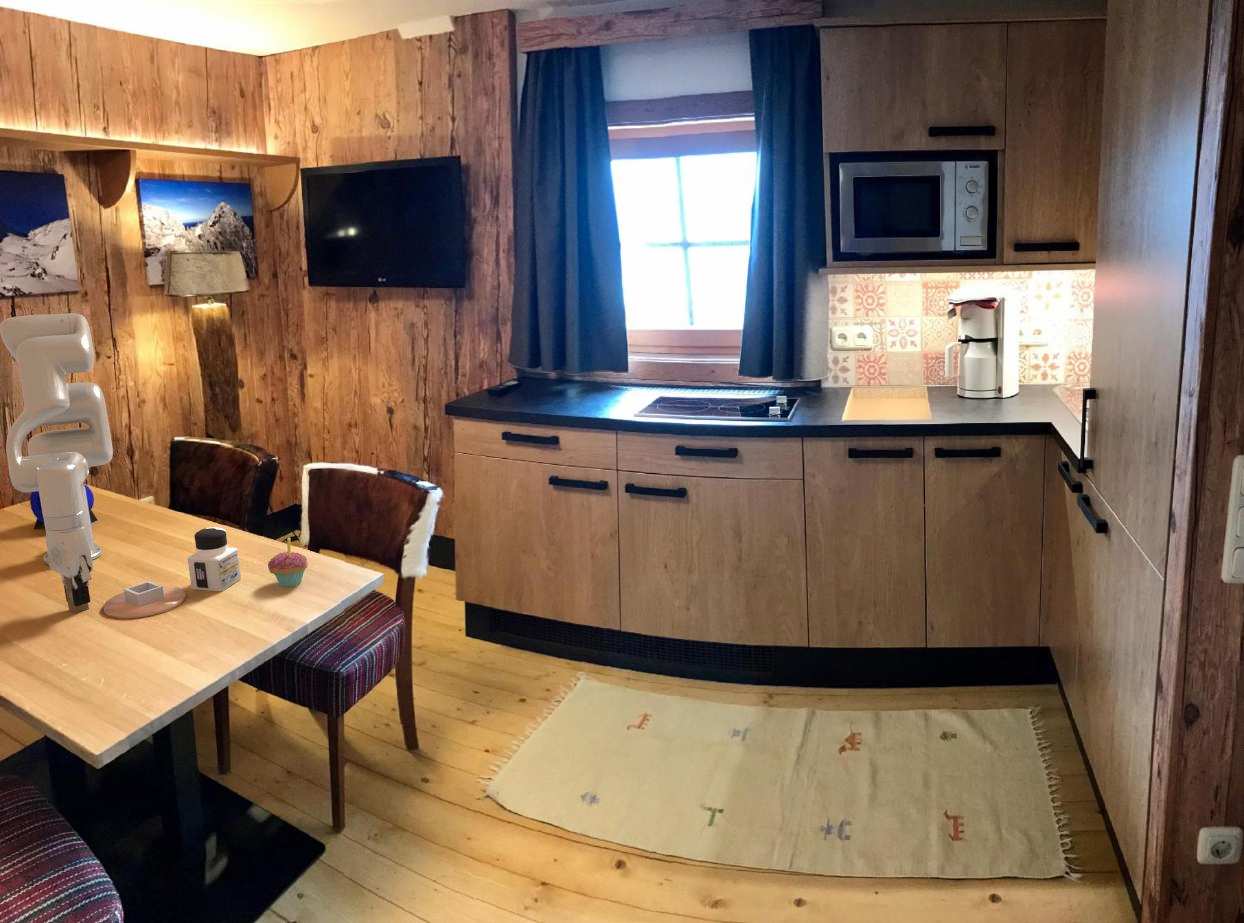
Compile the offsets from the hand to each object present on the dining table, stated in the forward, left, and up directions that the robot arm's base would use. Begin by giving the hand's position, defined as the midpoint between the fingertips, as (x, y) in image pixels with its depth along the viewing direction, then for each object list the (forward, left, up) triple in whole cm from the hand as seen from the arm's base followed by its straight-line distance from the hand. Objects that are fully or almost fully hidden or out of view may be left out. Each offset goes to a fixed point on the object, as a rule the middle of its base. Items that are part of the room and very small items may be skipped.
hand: (78, 601), depth 209 cm
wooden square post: (0, 0, -2) cm, 2 cm away
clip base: (+8, +10, -2) cm, 13 cm away
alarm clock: (-62, +27, -2) cm, 67 cm away
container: (+11, +25, -2) cm, 27 cm away
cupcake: (+24, +35, -2) cm, 43 cm away
